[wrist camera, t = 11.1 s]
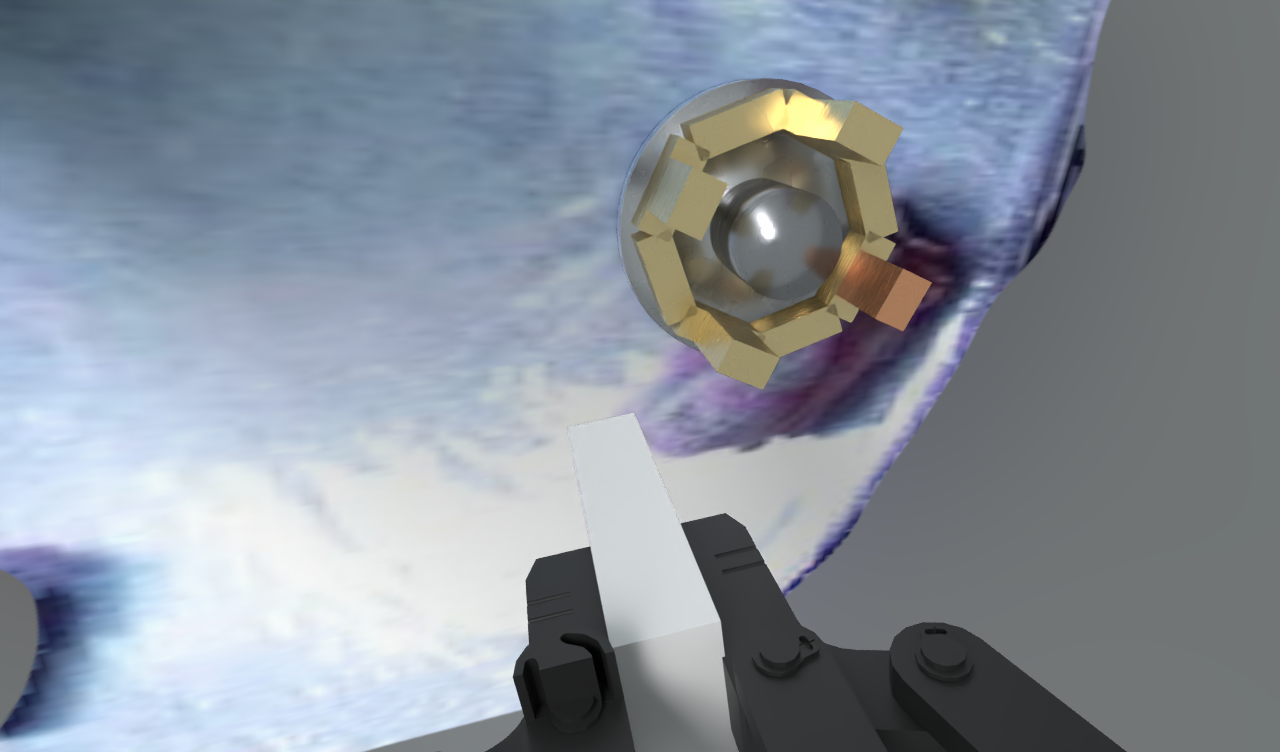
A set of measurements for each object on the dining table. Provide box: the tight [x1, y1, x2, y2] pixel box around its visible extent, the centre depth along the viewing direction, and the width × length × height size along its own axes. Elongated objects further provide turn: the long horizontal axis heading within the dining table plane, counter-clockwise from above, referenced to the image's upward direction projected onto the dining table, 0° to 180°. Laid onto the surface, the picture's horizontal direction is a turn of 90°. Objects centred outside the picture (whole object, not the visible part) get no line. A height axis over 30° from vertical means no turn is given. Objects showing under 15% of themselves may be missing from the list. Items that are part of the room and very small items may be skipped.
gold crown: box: [631, 88, 932, 389], centre depth 40 cm, size 15×15×7 cm
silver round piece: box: [617, 78, 850, 350], centre depth 41 cm, size 17×17×7 cm
